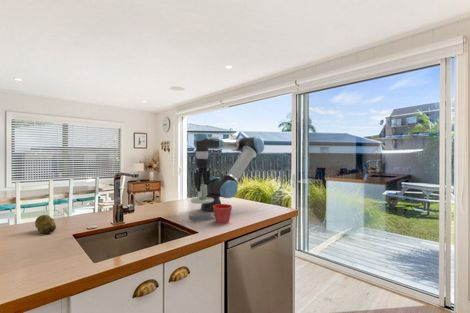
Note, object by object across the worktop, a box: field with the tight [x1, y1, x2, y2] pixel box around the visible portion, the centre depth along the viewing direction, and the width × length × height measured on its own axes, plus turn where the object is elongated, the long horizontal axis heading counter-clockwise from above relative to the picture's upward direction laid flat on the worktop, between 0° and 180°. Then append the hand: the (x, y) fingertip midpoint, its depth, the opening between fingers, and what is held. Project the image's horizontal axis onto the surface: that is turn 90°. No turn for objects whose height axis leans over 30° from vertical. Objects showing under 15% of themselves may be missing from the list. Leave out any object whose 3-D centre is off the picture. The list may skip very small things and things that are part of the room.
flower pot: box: [213, 203, 233, 225], centre depth 147 cm, size 11×11×10 cm
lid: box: [190, 183, 214, 205], centre depth 156 cm, size 14×14×10 cm
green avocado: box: [34, 214, 57, 234], centre depth 128 cm, size 8×13×8 cm, turn 39°
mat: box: [188, 213, 216, 222], centre depth 156 cm, size 14×14×1 cm
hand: (202, 195), depth 156 cm, fingers closed on lid, 4 cm apart
